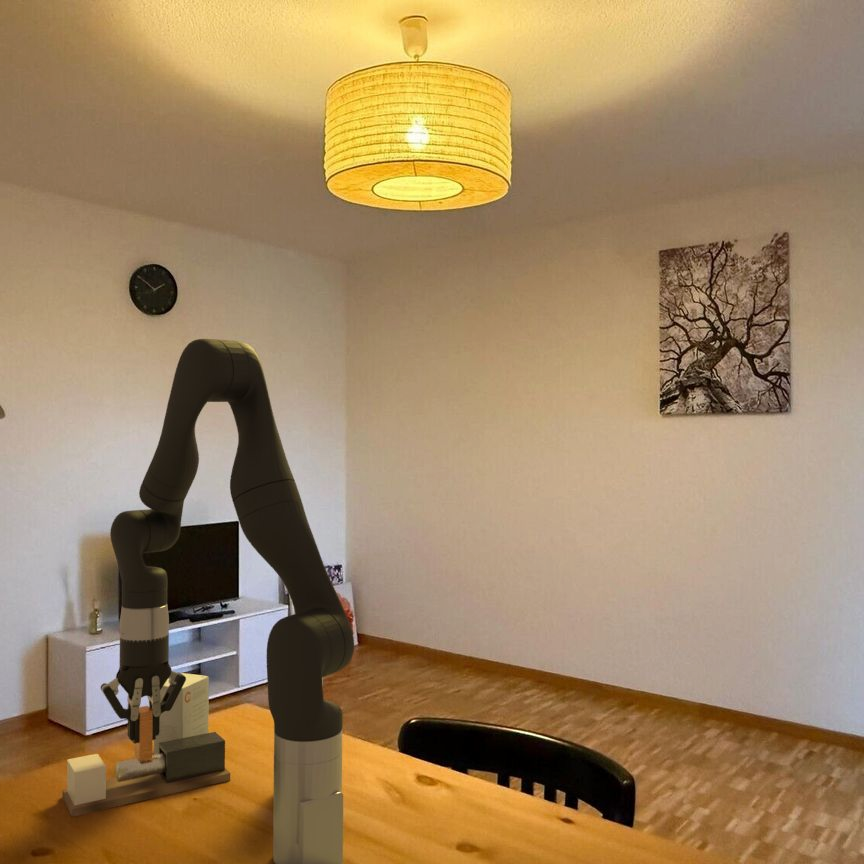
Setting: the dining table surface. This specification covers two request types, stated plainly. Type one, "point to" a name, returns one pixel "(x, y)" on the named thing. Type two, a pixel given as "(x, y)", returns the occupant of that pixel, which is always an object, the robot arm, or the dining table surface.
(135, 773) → the sliding bolt
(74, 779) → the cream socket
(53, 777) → the dining table surface
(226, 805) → the dining table surface
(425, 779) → the dining table surface
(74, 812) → the walnut board
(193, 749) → the dark hollow rectangular block
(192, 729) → the small box
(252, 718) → the dining table surface
